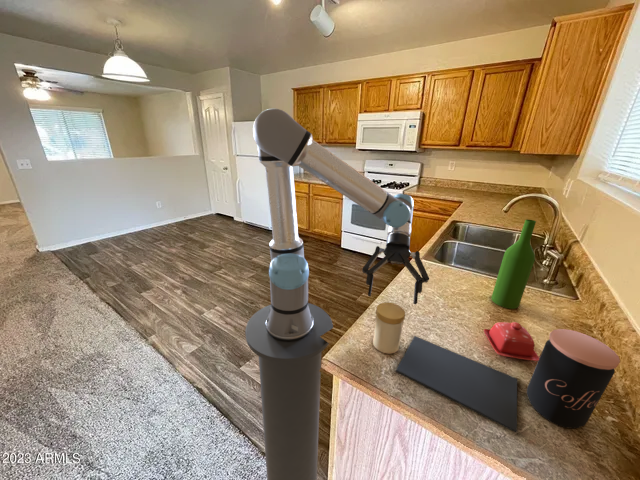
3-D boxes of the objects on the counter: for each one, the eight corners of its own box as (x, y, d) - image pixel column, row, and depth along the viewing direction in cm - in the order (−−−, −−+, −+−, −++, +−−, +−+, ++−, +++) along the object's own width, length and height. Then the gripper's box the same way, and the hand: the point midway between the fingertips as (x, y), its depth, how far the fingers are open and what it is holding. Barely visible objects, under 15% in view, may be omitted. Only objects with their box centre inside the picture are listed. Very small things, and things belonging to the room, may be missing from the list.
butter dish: (541, 365, 72) (552, 340, 69) (496, 358, 74) (504, 334, 71) (520, 336, 83) (528, 314, 80) (480, 331, 85) (487, 309, 82)
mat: (395, 371, 69) (396, 369, 69) (414, 337, 81) (414, 335, 81) (516, 432, 55) (516, 430, 55) (516, 380, 67) (517, 378, 67)
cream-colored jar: (368, 345, 78) (372, 313, 73) (379, 331, 83) (383, 301, 79) (393, 357, 73) (398, 324, 69) (402, 342, 79) (408, 310, 75)
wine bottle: (524, 307, 98) (554, 223, 87) (505, 310, 96) (533, 225, 85) (503, 294, 106) (528, 216, 95) (485, 297, 104) (508, 217, 93)
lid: (371, 316, 74) (371, 311, 73) (382, 304, 80) (383, 299, 79) (398, 328, 70) (399, 323, 69) (408, 313, 76) (409, 308, 75)
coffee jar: (527, 414, 59) (554, 351, 53) (522, 380, 67) (546, 322, 61) (591, 442, 54) (630, 375, 47) (578, 401, 62) (609, 340, 56)
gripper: (436, 246, 89) (433, 309, 81) (361, 237, 95) (352, 295, 87) (441, 236, 82) (438, 304, 74) (361, 227, 88) (350, 289, 80)
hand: (391, 299), depth 80 cm, fingers open, 13 cm apart
